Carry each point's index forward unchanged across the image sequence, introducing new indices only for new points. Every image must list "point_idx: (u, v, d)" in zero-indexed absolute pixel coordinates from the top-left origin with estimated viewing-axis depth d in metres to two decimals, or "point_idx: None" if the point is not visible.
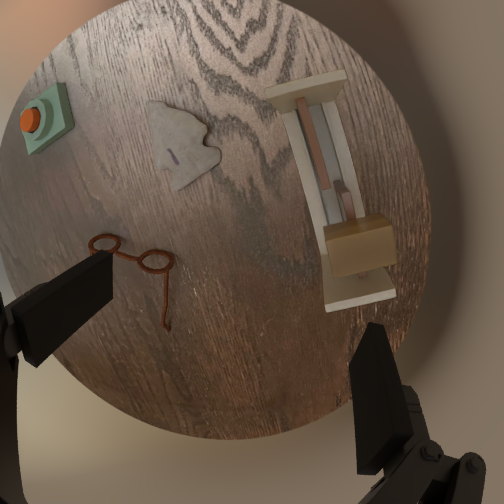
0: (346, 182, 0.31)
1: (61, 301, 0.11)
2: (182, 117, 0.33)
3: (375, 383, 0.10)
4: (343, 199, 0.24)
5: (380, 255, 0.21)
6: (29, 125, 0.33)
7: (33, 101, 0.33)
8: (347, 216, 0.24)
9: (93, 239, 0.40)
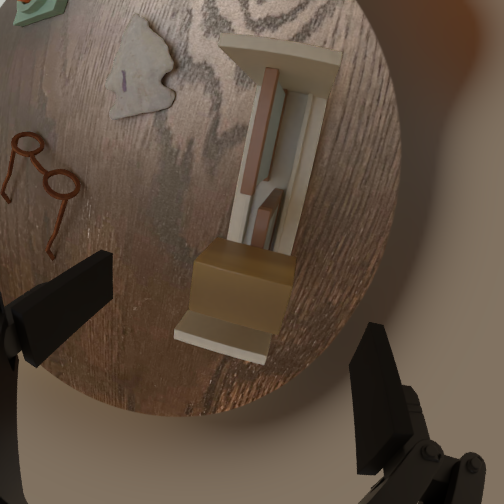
0: (288, 197, 0.25)
1: (61, 301, 0.11)
2: (154, 44, 0.23)
3: (375, 383, 0.10)
4: (257, 217, 0.18)
5: (258, 314, 0.15)
6: None
7: None
8: (252, 240, 0.19)
9: (21, 134, 0.28)
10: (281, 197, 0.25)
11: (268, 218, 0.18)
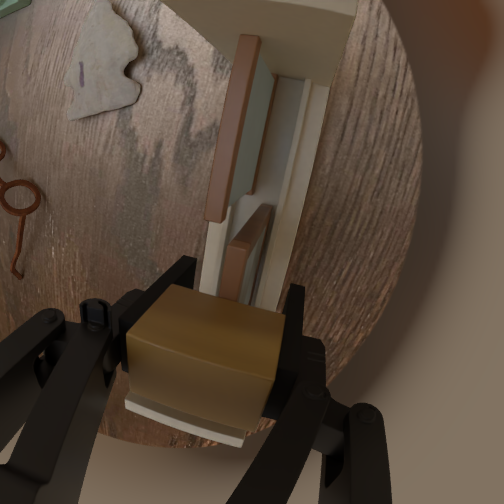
0: (279, 216, 0.19)
1: None
2: (116, 28, 0.18)
3: None
4: (227, 258, 0.12)
5: (224, 408, 0.10)
6: None
7: None
8: (221, 290, 0.13)
9: None
10: (269, 216, 0.19)
11: (243, 259, 0.12)
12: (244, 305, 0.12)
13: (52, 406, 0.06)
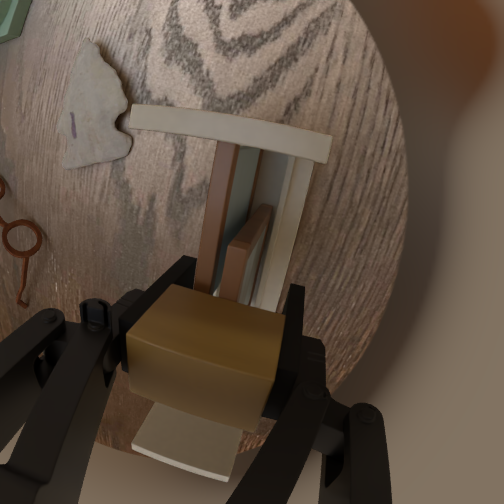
0: (264, 280, 0.21)
1: None
2: (105, 78, 0.19)
3: None
4: (227, 258, 0.12)
5: (224, 409, 0.10)
6: None
7: None
8: (221, 290, 0.13)
9: None
10: (269, 216, 0.19)
11: (243, 260, 0.12)
12: (244, 305, 0.12)
13: (52, 406, 0.06)
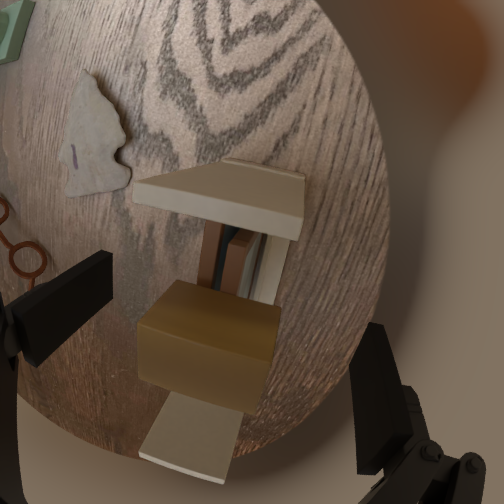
0: None
1: (61, 301, 0.11)
2: (103, 112, 0.21)
3: (375, 383, 0.10)
4: (228, 255, 0.13)
5: (226, 392, 0.11)
6: None
7: None
8: (222, 285, 0.14)
9: None
10: None
11: (242, 256, 0.13)
12: (243, 298, 0.14)
13: None
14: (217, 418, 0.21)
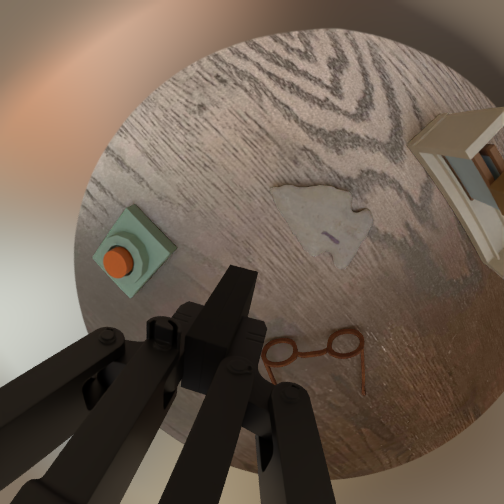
0: None
1: None
2: (323, 193, 0.31)
3: None
4: (493, 154, 0.18)
5: None
6: (122, 269, 0.35)
7: (109, 240, 0.35)
8: (501, 168, 0.18)
9: (263, 353, 0.38)
10: None
11: (496, 149, 0.18)
12: None
13: (102, 427, 0.06)
14: None
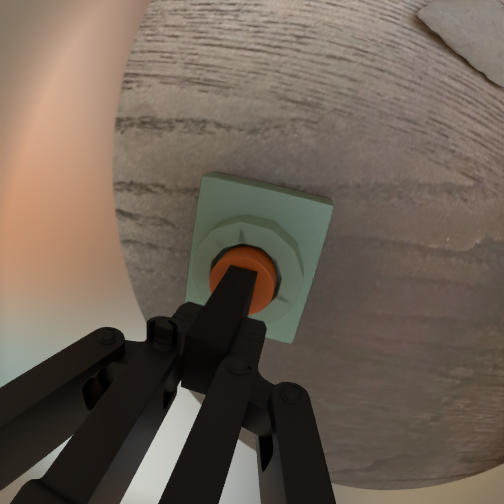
0: None
1: None
2: None
3: None
4: None
5: None
6: (263, 284, 0.17)
7: (201, 250, 0.18)
8: None
9: None
10: None
11: None
12: None
13: (102, 427, 0.06)
14: None
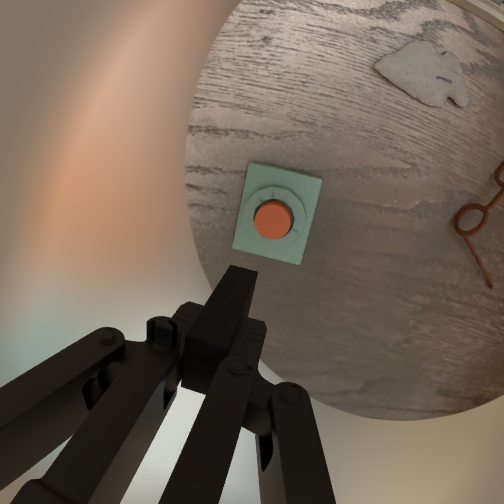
0: None
1: None
2: (414, 47, 0.24)
3: None
4: None
5: None
6: (285, 220, 0.30)
7: (249, 203, 0.32)
8: None
9: (459, 230, 0.29)
10: None
11: None
12: None
13: (102, 427, 0.06)
14: None
